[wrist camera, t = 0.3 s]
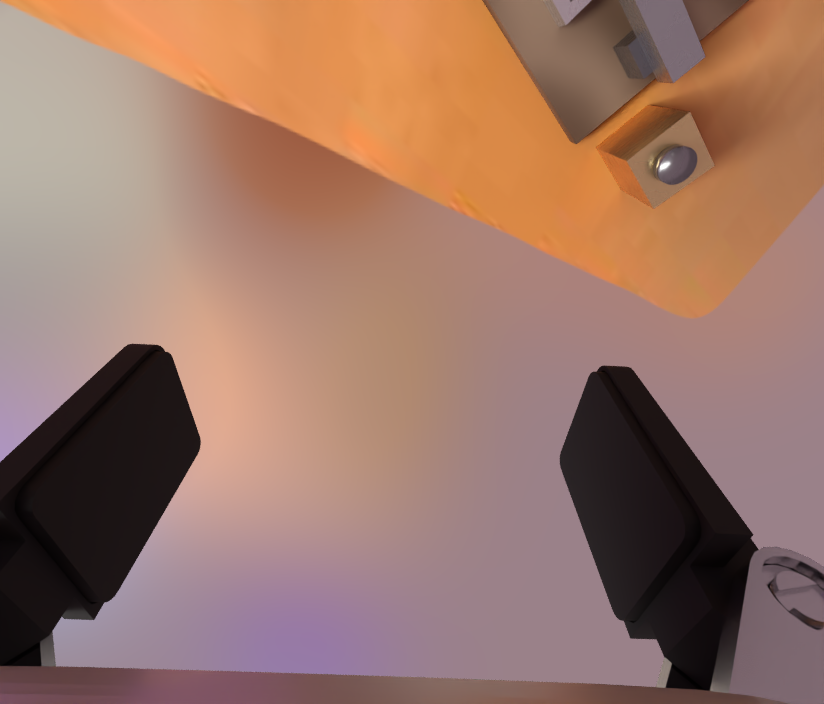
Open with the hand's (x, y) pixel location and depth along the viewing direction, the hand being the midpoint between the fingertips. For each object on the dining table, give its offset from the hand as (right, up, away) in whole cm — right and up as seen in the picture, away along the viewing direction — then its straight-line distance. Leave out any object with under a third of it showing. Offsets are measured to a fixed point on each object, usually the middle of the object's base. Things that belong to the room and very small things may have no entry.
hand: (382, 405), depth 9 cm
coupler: (+19, +18, +24) cm, 35 cm away
